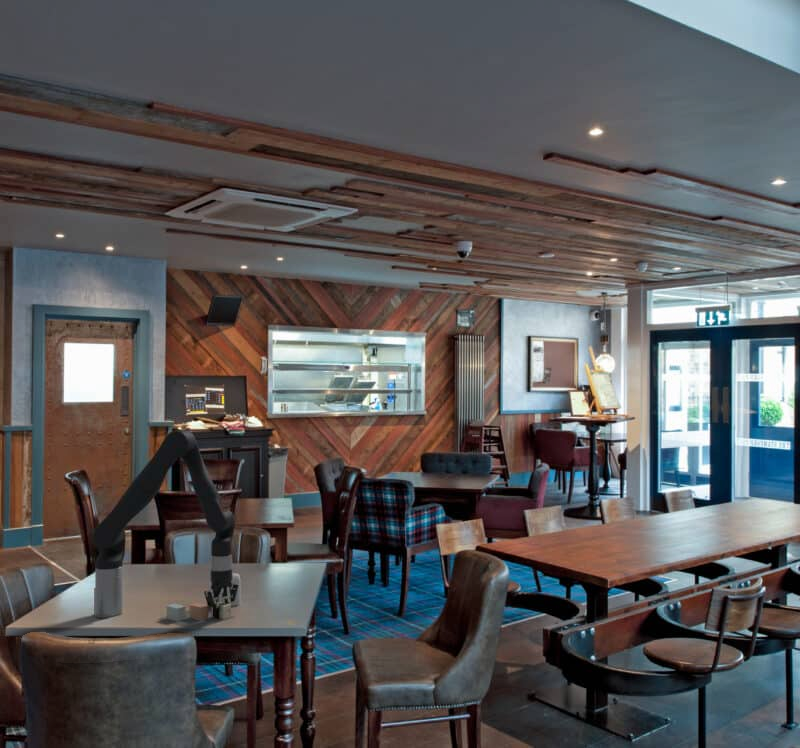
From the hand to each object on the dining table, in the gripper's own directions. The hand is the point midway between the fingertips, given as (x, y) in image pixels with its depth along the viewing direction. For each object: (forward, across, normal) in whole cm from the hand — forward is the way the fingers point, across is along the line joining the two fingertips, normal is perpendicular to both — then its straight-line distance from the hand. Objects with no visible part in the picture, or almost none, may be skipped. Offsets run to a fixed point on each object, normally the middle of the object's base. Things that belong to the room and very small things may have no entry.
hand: (221, 616), depth 280 cm
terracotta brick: (0, +6, -6) cm, 8 cm away
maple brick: (0, 0, 0) cm, 0 cm away
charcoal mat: (+1, +6, -6) cm, 9 cm away
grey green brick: (0, +11, -11) cm, 16 cm away
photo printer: (+1, -12, -11) cm, 16 cm away
